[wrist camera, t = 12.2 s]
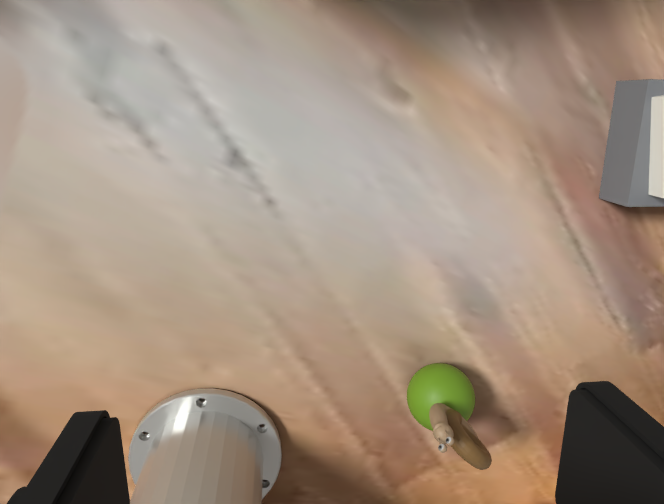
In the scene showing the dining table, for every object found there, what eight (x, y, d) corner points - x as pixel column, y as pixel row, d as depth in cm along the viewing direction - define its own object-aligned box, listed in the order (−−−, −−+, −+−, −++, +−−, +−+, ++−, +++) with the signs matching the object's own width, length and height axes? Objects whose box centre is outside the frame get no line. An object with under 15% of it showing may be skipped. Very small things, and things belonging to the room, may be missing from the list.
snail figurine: (422, 333, 44) (474, 415, 33) (474, 375, 46) (540, 467, 34) (379, 378, 45) (414, 474, 33) (431, 418, 46) (482, 522, 35)
